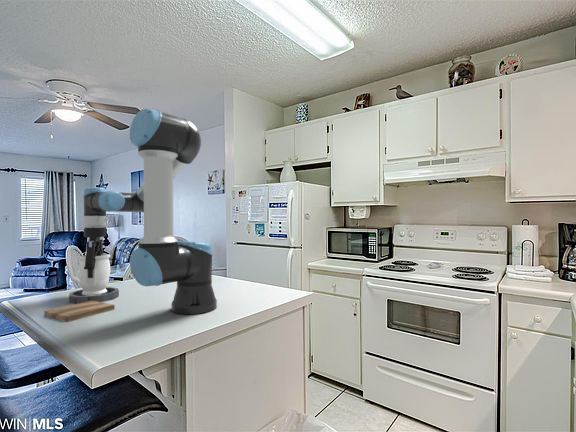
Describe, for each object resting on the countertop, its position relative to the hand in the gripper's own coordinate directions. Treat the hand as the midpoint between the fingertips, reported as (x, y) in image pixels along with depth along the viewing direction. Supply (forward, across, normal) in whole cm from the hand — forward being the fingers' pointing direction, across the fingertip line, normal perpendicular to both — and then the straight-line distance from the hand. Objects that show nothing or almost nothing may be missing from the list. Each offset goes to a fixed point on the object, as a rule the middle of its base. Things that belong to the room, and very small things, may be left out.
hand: (94, 283), depth 125 cm
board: (+6, -20, -1) cm, 21 cm away
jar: (+4, 0, 0) cm, 4 cm away
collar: (+6, 0, 0) cm, 6 cm away
